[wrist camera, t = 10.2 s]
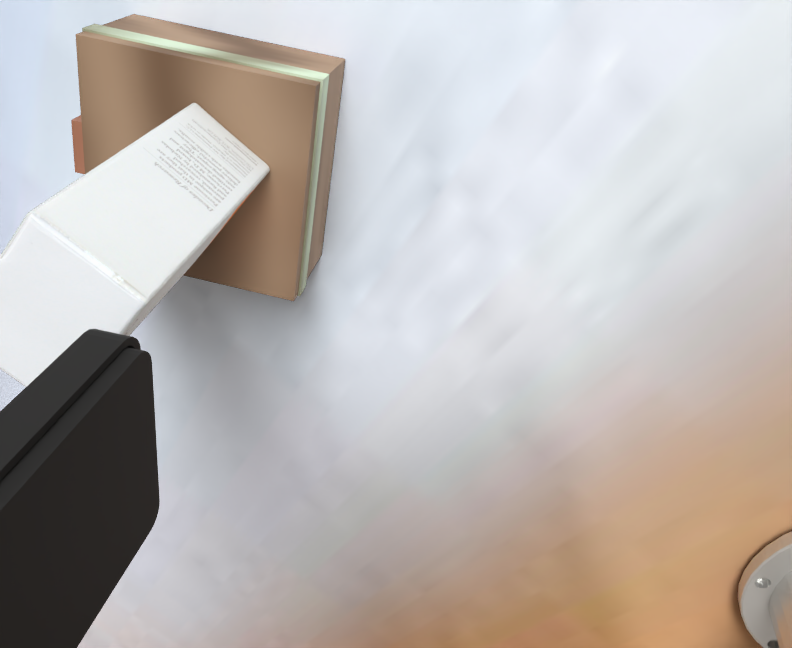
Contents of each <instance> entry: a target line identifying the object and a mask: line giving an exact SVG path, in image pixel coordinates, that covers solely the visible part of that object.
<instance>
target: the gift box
mask: <svg viewBox="0 0 792 648" xmlns="http://www.w3.org/2000/svg"><path fill="white" fill-rule="evenodd" d="M82 30H83V32H81V33H78V34H76V46H77V61H78V76H79V91H80V106H81V115H80V116H78V117H76V118H75V119H73V120H71V121H72V135H73V148H74V162H75V172H77V173H82V174H86V173H88V172H89V171H91V170H92V169H94V168H95V167H97V166H98V165H100V164H101V163H103V162H105V161H106V160H108V159H109V158H111V157H112V156H114V155H115V154H117V153H118V152H119V151H121V150H122V149H124V148H126V147H127V146H129V145H130V144H132V143H133V142H135V141H136V140H138V139H139V138H141V137H142V136H144V135H145V134H147V133H148V132H150V131H151V130H153V129H154V128H156V127H158V126H159V125H161V124H162V123H164V122H165V121H166V120H168V119H169V118H171V117H172V116H174V115H175V114H177V113H178V112H180V111H181V110H183V109H184V108H186V107H187V106H189V105H190V104H192V103H196V104H198V105H199V106H200V107H201V108H202V109H204V110H205V111H206V112H207V113H208V114H209V115H210V116H212V117H213V118H214V119H215V120H216V121H217V122H218V123H219V124H221V125H222V126H223V127H224V128H225V129H226V130H227V131H229V132H230V133H231V134H232V135H233V136H234V137H236V138H237V139H238V140H239V141H240V142H241V143H243V144H244V145H245V146H246V147H247V148H248V149H250V150H251V151H252V152H253V153H254V154H255V155H257V156H258V157H259V158H260V159H261V160H263V161H264V162H265V163H266V164H267V165H268V166H269V169H270V171H269V173H268V174H267V175H266V176H265V177H264V179H263V180H262V181H261V182H260V183H259V184H258V186H257V187H256V188H255V189H254V191H253V192H252V193H251V194H250V195H249V197H248V198H247V199H246V200H245V201H244V203H243V204H242V205H241V206H240V208H239V209H238V210H237V211H236V213H235V214H234V215H233V216H232V218H231V219H230V220H229V221H228V222H227V224H226V225H225V226H224V227H223V229H222V230H221V231H220V232H219V233H218V235H217V236H216V237H215V238H214V240H213V241H212V242H211V243H210V244H209V246H208V247H207V248H206V249H205V250H204V252H203V253H202V254H201V255H200V256H199V257H198V259H197V260H196V261H195V262H194V263H193V264H192V266H191V267H190V268H189V269H188V270H187V271H186V273H185V274H184V276H189V277H193V278H197V279H202V280H206V281H210V282H214V283H219V284H223V285H227V286H231V287H236V288H240V289H244V290H248V291H253V292H257V293H261V294H266V295H270V296H274V297H278V298H283V299H287V300H291V301H294V300H295V298H296V297H297V296H300V295H301V294H302V292H303V290H304V289H305V287H306V280H307V278H308V277H309V275H310V273H311V272H312V270H313V268H314V267H315V265H316V263H317V262H318V260H319V258H320V257H321V255H322V247H323V239H324V231H325V223H326V214H327V206H328V198H329V190H330V181H331V173H332V165H333V157H334V148H335V140H336V132H337V124H338V115H339V107H340V99H341V91H342V82H343V74H344V66H345V59H343V58H338V57H333V56H329V55H324V54H319V53H315V52H310V51H305V50H300V49H296V48H291V47H286V46H282V45H277V44H272V43H267V42H263V41H258V40H253V39H249V38H244V37H239V36H235V35H230V34H225V33H220V32H216V31H211V30H206V29H202V28H197V27H192V26H187V25H183V24H178V23H173V22H169V21H164V20H159V19H154V18H150V17H145V16H140V15H136V14H133V15H130V16H127V17H124V18H122V19H119V20H116V21H113V22H110V23H107V24H104V25H98V24H93V25H90V26H87V27H84V28H82Z"/></svg>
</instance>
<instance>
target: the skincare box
mask: <svg viewBox="0 0 792 648" xmlns="http://www.w3.org/2000/svg"><path fill="white" fill-rule="evenodd" d="M269 171H270V169H269V166H268V165H267V164H266V163H265V162H264V161H263V160H261V159H260V158H259V157H258V156H257V155H255V154H254V153H253V152H252V151H251V150H250V149H248V148H247V147H246V146H245V145H244V144H243V143H241V142H240V141H239V140H238V139H237V138H236V137H234V136H233V135H232V134H231V133H230V132H229V131H227V130H226V129H225V128H224V127H223V126H222V125H221V124H219V123H218V122H217V121H216V120H215V119H214V118H213V117H212V116H210V115H209V114H208V113H207V112H206V111H205V110H204V109H202V108H201V107H200V106H199V105H198V104H196V103H192V104H190V105H189V106H187V107H186V108H184V109H183V110H181V111H180V112H178V113H177V114H175V115H174V116H172V117H171V118H169V119H168V120H166V121H165V122H164V123H162V124H161V125H159V126H158V127H156V128H154V129H153V130H151V131H150V132H148V133H147V134H145V135H144V136H142V137H141V138H139V139H138V140H136V141H135V142H133V143H132V144H130V145H129V146H127V147H126V148H124V149H122V150H121V151H119V152H118V153H117V154H115V155H114V156H112V157H111V158H109V159H108V160H106V161H105V162H103V163H101V164H100V165H98V166H97V167H95V168H94V169H92V170H91V171H89V172H88V173H86V174H85V175H83V176H82V177H80V178H79V179H77V180H76V181H74V182H73V183H71V184H70V185H68V186H67V187H65V188H64V189H63V190H61V191H60V192H58V193H57V194H55V195H54V196H52V197H51V198H49V199H48V200H46V201H45V202H43V203H42V204H40V205H39V206H37V207H36V208H34V209H33V210H31V211H30V212H29V213H28V214H27V215H26V216H25V218H24V219H23V221H22V223H21V224H20V226H19V227H18V229H17V231H16V232H15V234H14V235H13V237H12V239H11V240H10V242H9V243H8V245H7V246H6V248H5V249H4V251H3V252H2V254H1V255H0V369H1V370H3V371H4V372H6V373H7V374H8V375H10V376H11V377H12V378H14V379H15V380H17V381H18V382H20V383H21V384H22V385H24V386H25V387H27V386H28V385H29V384H30V383H31V382H32V381H33V380H34V379H35V378H36V377H38V376H39V375H40V374H41V373H42V372H43V371H44V370H45V369H46V368H47V367H48V366H49V365H50V364H51V363H52V362H53V361H54V360H55V359H57V358H58V357H59V356H60V355H61V354H62V353H63V352H64V351H65V350H66V349H67V348H68V347H69V346H70V345H71V344H72V343H73V342H75V341H76V340H77V339H78V338H79V337H80V336H81V335H82V334H83V333H84V332H86V331H87V330H89V329H98V330H103V331H108V332H112V333H117V334H122V335H126V336H129V335H130V334H131V333H132V332H133V331H134V330H135V329H136V328H137V327H138V325H139V324H140V323H141V322H142V321H143V320H144V319H145V318H146V316H147V315H148V314H149V313H150V312H151V311H152V310H153V309H154V308H155V306H156V305H157V304H158V303H159V302H160V301H161V300H162V299H163V297H164V296H165V295H166V294H167V293H168V292H169V291H170V290H171V288H172V287H173V286H174V285H175V284H176V283H177V282H178V281H179V279H180V278H181V277H182V276H183V275H184V274H185V273H186V271H187V270H188V269H189V268H190V267H191V266H192V264H193V263H194V262H195V261H196V260H197V259H198V257H199V256H200V255H201V254H202V253H203V252H204V250H205V249H206V248H207V247H208V246H209V244H210V243H211V242H212V241H213V240H214V238H215V237H216V236H217V235H218V233H219V232H220V231H221V230H222V229H223V227H224V226H225V225H226V224H227V222H228V221H229V220H230V219H231V218H232V216H233V215H234V214H235V213H236V211H237V210H238V209H239V208H240V206H241V205H242V204H243V203H244V201H245V200H246V199H247V198H248V197H249V195H250V194H251V193H252V192H253V191H254V189H255V188H256V187H257V186H258V184H259V183H260V182H261V181H262V180H263V179H264V177H265V176H266V175H267V174H268V173H269Z"/></svg>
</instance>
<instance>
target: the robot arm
mask: <svg viewBox="0 0 792 648" xmlns="http://www.w3.org/2000/svg"><path fill="white" fill-rule="evenodd" d="M158 509H159V484H158V466H157V448H156V430H155V412H154V394H153V375H152V361H151V356H150V354H149V353H148V352H146V351H142V350H141V348H140V344H139V342H138V340H137V339H136V338H134V337H131V336H126V335H122V334H117V333H112V332H108V331H103V330H98V329H89V330H87V331H86V332H84V333H83V334H82V335H81V336H80V337H79V338H78V339H77V340H76V341H75V342H73V343H72V344H71V345H70V346H69V347H68V348H67V349H66V350H65V351H64V352H63V353H62V354H61V355H60V356H59V357H58V358H57V359H55V360H54V361H53V362H52V363H51V364H50V365H49V366H48V367H47V368H46V369H45V370H44V371H43V372H42V373H41V374H40V375H39V376H38V377H36V378H35V379H34V380H33V381H32V382H31V383H30V384H29V385H28V386H27V387H26V388H25V389H24V390H23V391H22V392H21V393H20V394H18V395H17V396H16V397H15V398H14V399H13V400H12V401H11V402H10V403H9V404H8V405H7V406H6V407H5V408H4V409H3V410H2V411H0V648H77V647H78V645H79V643H80V642H81V640H82V639H83V637H84V635H85V634H86V632H87V631H88V629H89V628H90V626H91V624H92V623H93V621H94V620H95V618H96V616H97V615H98V613H99V612H100V610H101V609H102V607H103V605H104V604H105V602H106V601H107V599H108V597H109V596H110V594H111V593H112V591H113V589H114V588H115V586H116V585H117V583H118V582H119V580H120V578H121V577H122V575H123V574H124V572H125V570H126V569H127V567H128V566H129V564H130V563H131V561H132V559H133V558H134V556H135V555H136V553H137V551H138V550H139V548H140V547H141V545H142V544H143V542H144V540H145V539H146V537H147V536H148V534H149V532H150V531H151V529H152V527H153V525H154V523H155V520H156V517H157V514H158ZM738 602H739V607H740V612H741V616H742V619H743V621H744V624H745V626H746V629H747V630H748V631H749V633H750V634H751V636H752V637H753V638H754V640H755V641H756V642H757V643H759V644H760V645H761V646H762V647H763V648H792V531H791V532H789V533H787V534H784V535H783V536H781V537H779V538H778V539H776V540H775V541H773V542H771V543H770V544H768V545H767V546H766V547H764V548H763V549H762V550H761V551H760V552H759V553H758V554H757V555H756V556H755V557H754V558H753V559H752V560H751V562H750V563H749V564H748V566H747V567H746V569H745V570H744V572H743V574H742V577H741V580H740V582H739V586H738Z"/></svg>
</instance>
